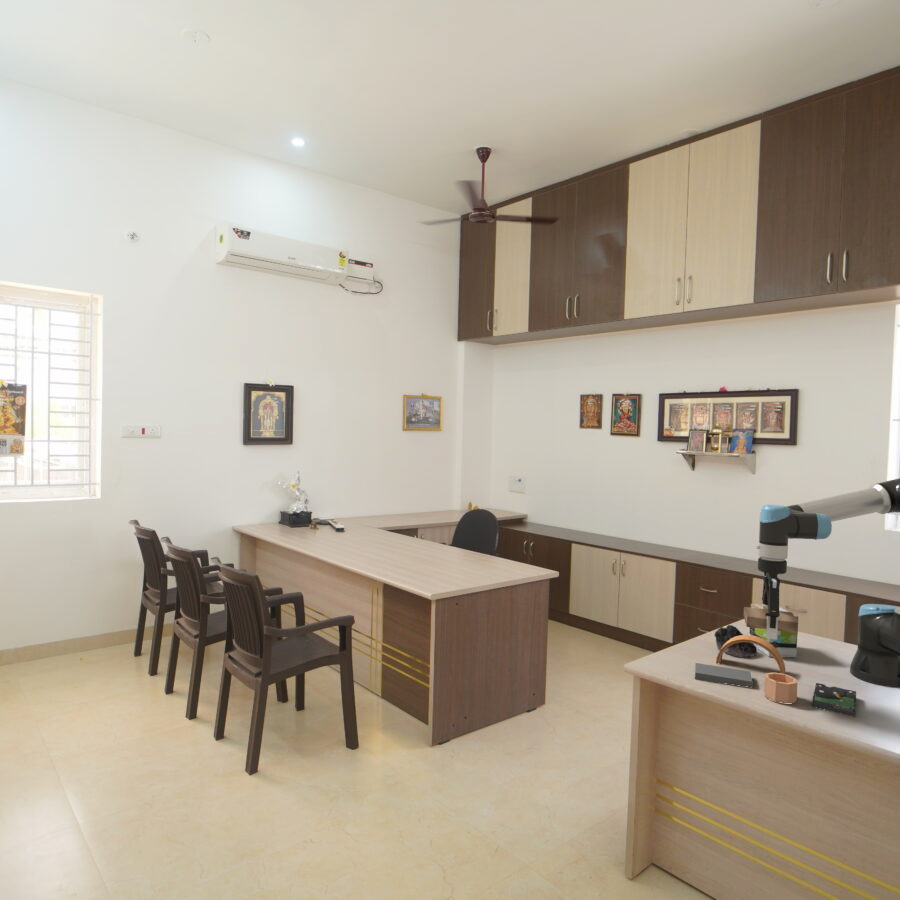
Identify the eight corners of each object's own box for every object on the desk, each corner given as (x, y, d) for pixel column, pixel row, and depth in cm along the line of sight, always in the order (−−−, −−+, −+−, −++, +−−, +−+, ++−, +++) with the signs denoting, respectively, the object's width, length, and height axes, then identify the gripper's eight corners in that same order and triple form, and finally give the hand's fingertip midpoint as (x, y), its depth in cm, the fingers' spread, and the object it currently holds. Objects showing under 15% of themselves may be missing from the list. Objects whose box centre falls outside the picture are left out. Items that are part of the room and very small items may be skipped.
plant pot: (793, 695, 184) (794, 675, 183) (797, 706, 176) (798, 685, 176) (763, 690, 187) (764, 670, 186) (765, 701, 179) (766, 680, 179)
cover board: (791, 622, 186) (792, 612, 186) (797, 633, 176) (798, 622, 176) (743, 616, 191) (744, 606, 191) (746, 626, 181) (747, 616, 181)
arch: (783, 677, 197) (784, 646, 197) (715, 663, 208) (716, 633, 208) (785, 672, 202) (786, 641, 202) (719, 658, 213) (720, 629, 213)
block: (750, 677, 197) (750, 671, 196) (752, 688, 188) (752, 681, 188) (695, 669, 202) (695, 662, 202) (694, 679, 194) (695, 672, 194)
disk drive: (814, 691, 188) (811, 708, 176) (815, 682, 188) (812, 698, 176) (855, 700, 183) (855, 718, 170) (856, 691, 183) (856, 708, 170)
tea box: (797, 658, 215) (799, 615, 214) (768, 657, 215) (770, 614, 214) (775, 643, 230) (777, 603, 229) (747, 642, 230) (749, 602, 229)
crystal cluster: (757, 651, 223) (755, 622, 224) (757, 659, 211) (756, 629, 212) (716, 647, 229) (715, 619, 230) (714, 656, 217) (713, 626, 218)
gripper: (754, 550, 195) (751, 619, 196) (762, 564, 173) (759, 643, 174) (781, 552, 193) (778, 623, 193) (793, 567, 171) (789, 647, 171)
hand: (769, 632), depth 184 cm, fingers closed on cover board, 11 cm apart
